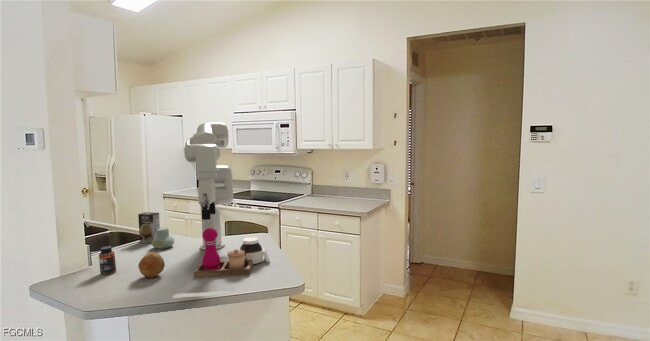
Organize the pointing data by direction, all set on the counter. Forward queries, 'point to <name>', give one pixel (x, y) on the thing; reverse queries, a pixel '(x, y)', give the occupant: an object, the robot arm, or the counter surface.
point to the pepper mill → (210, 249)
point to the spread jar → (253, 250)
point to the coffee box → (148, 226)
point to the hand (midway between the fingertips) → (209, 216)
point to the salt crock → (236, 259)
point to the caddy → (223, 270)
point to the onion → (151, 265)
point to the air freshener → (163, 239)
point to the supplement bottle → (107, 261)
